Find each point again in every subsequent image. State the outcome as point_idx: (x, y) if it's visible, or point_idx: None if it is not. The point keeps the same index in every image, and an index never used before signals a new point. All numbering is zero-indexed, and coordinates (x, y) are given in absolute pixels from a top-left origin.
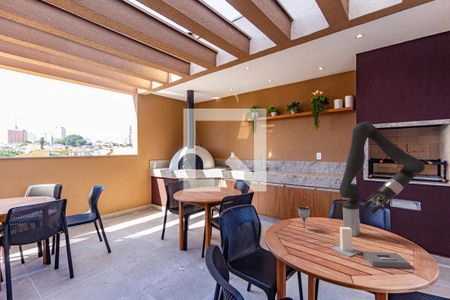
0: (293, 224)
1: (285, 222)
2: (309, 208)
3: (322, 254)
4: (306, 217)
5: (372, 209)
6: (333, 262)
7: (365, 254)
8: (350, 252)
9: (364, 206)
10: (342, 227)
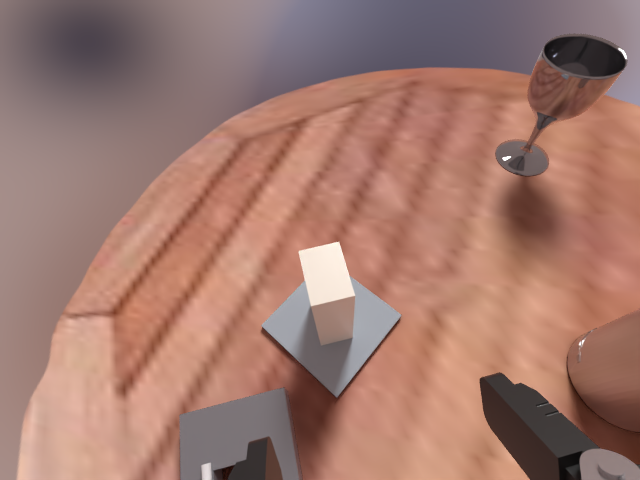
0: None
1: None
2: (599, 77)
3: (262, 230)
4: (539, 113)
5: (244, 471)
6: (202, 264)
7: (253, 395)
8: (301, 334)
9: (490, 397)
10: (331, 255)
